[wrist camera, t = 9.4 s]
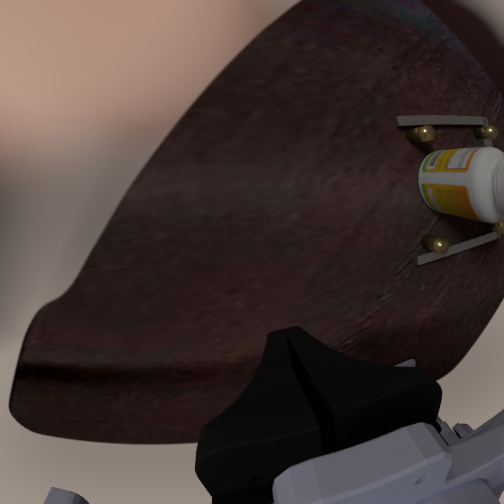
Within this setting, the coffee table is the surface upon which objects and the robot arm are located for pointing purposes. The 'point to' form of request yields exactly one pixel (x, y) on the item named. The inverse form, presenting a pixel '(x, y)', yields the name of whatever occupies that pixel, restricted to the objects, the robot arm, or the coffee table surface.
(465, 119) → the frame
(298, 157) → the coffee table surface
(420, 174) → the supplement bottle
